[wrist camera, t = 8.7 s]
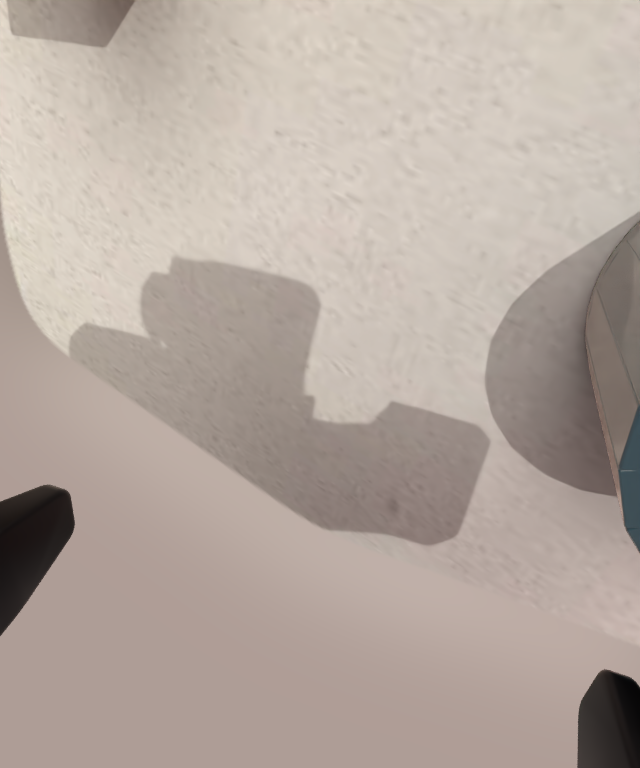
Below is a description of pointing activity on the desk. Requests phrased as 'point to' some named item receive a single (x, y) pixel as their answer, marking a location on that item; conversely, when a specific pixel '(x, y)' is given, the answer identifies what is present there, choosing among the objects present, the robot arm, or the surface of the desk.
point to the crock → (619, 370)
